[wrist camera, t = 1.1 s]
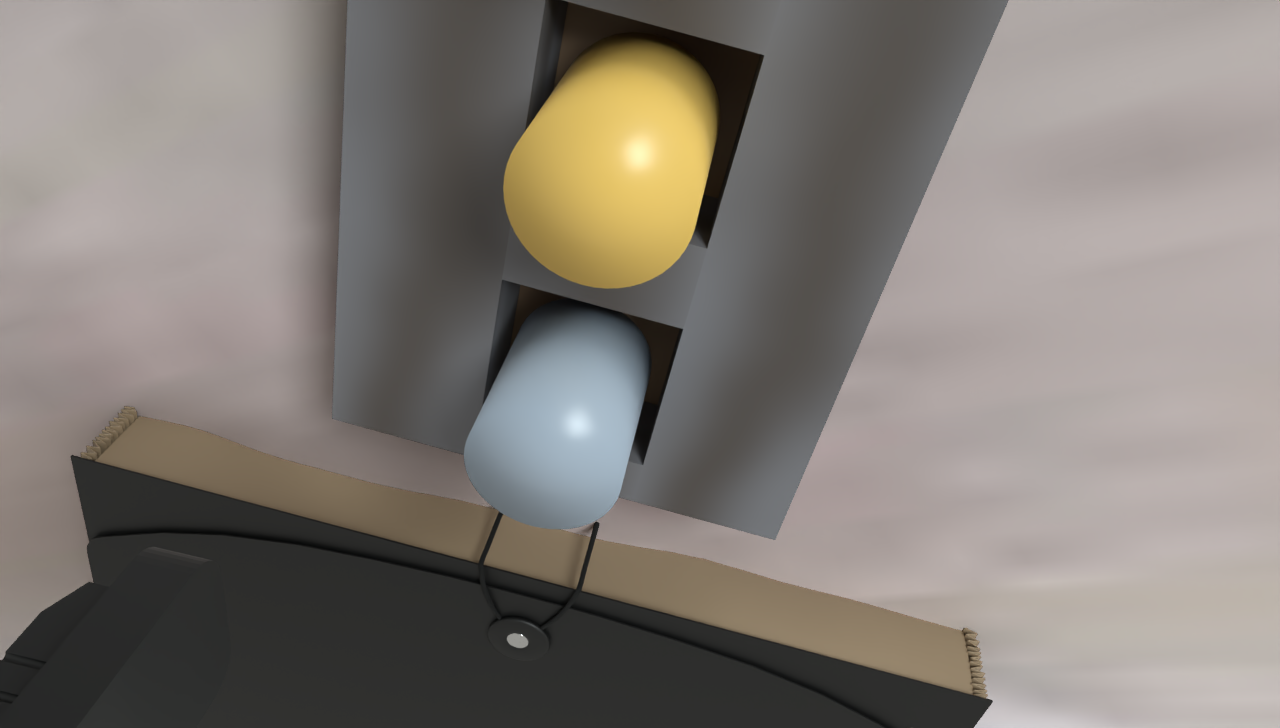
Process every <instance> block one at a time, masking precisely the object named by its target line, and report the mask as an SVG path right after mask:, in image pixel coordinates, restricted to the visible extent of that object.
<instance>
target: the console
mask: <svg viewBox="0 0 1280 728" xmlns="http://www.w3.org/2000/svg"><path fill="white" fill-rule="evenodd" d="M1007 3H1008V0H347V27H346V54H345V81H344V108H343V135H342V162H341V189H340V217H339V244H338V271H337V298H336V325H335V352H334V379H333V406H332V419H335V420H338V421H342V422H346V423H349V424H353V425H357V426H360V427H364V428H368V429H371V430H375V431H379V432H382V433H386V434H390V435H393V436H397V437H401V438H404V439H408V440H411V441H415V442H419V443H422V444H426V445H430V446H433V447H437V448H441V449H444V450H448V451H452V452H455V453H459V454H463V455H464V448H465V444H466V440H467V438H468V436H469V433H470V431H471V429H472V427H473V425H474V423H475V421H476V419H477V417H478V415H479V413H480V411H481V409H482V407H483V404H484V402H485V400H486V398H487V396H488V394H489V392H490V390H491V388H492V386H493V384H494V382H495V380H496V378H497V375H498V373H499V371H500V369H501V367H502V365H503V363H504V361H505V359H506V357H507V355H508V353H509V351H510V349H511V346H512V344H513V342H514V340H515V338H516V336H517V334H518V332H519V330H520V328H521V326H522V324H523V323H524V321H525V320H526V318H527V317H528V316H529V315H530V314H531V313H532V312H533V311H535V310H536V309H537V308H539V307H541V306H542V305H544V304H547V303H549V302H551V301H555V300H559V299H565V298H571V299H575V300H579V301H582V302H586V303H590V304H593V305H597V306H601V307H604V308H608V309H611V310H615V311H619V312H622V313H623V314H625V315H626V316H627V317H628V318H630V319H631V320H632V321H633V322H634V323H635V324H636V325H637V327H638V328H639V329H640V330H641V332H642V334H643V335H644V337H645V338H646V341H647V343H648V345H649V348H650V352H651V358H652V369H651V374H650V379H649V382H648V386H647V390H646V394H645V398H644V402H643V406H642V410H641V413H640V417H639V421H638V425H637V429H636V433H635V437H634V441H633V444H632V448H631V452H630V456H629V460H628V464H627V468H626V472H625V475H624V479H623V483H622V487H621V491H620V494H619V496H618V497H620V498H623V499H627V500H631V501H634V502H638V503H642V504H645V505H649V506H653V507H656V508H660V509H664V510H667V511H671V512H674V513H678V514H682V515H685V516H689V517H693V518H696V519H700V520H704V521H707V522H711V523H715V524H718V525H722V526H726V527H729V528H733V529H737V530H740V531H744V532H748V533H751V534H755V535H758V536H762V537H766V538H769V539H773V540H775V539H776V536H777V534H778V532H779V529H780V527H781V525H782V523H783V520H784V518H785V516H786V513H787V511H788V509H789V506H790V504H791V502H792V499H793V497H794V495H795V493H796V490H797V488H798V486H799V483H800V481H801V479H802V476H803V474H804V472H805V469H806V467H807V465H808V462H809V460H810V458H811V456H812V453H813V451H814V449H815V446H816V444H817V442H818V439H819V437H820V435H821V432H822V430H823V428H824V425H825V423H826V421H827V419H828V416H829V414H830V412H831V409H832V407H833V405H834V402H835V400H836V398H837V395H838V393H839V391H840V389H841V386H842V384H843V382H844V379H845V377H846V375H847V372H848V370H849V368H850V365H851V363H852V361H853V358H854V356H855V354H856V352H857V349H858V347H859V345H860V342H861V340H862V338H863V335H864V333H865V331H866V328H867V326H868V324H869V321H870V319H871V317H872V315H873V312H874V310H875V308H876V305H877V303H878V301H879V298H880V296H881V294H882V291H883V289H884V287H885V285H886V282H887V280H888V278H889V275H890V273H891V271H892V268H893V266H894V264H895V261H896V259H897V257H898V254H899V252H900V250H901V248H902V245H903V243H904V241H905V238H906V236H907V234H908V231H909V229H910V227H911V224H912V222H913V220H914V217H915V215H916V213H917V211H918V208H919V206H920V204H921V201H922V199H923V197H924V194H925V192H926V190H927V187H928V185H929V183H930V180H931V178H932V176H933V174H934V171H935V169H936V167H937V164H938V162H939V160H940V157H941V155H942V153H943V150H944V148H945V146H946V144H947V141H948V139H949V137H950V134H951V132H952V130H953V127H954V125H955V123H956V120H957V118H958V116H959V113H960V111H961V109H962V107H963V104H964V102H965V100H966V97H967V95H968V93H969V90H970V88H971V86H972V83H973V81H974V79H975V76H976V74H977V72H978V70H979V67H980V65H981V63H982V60H983V58H984V56H985V53H986V51H987V49H988V46H989V44H990V42H991V40H992V37H993V35H994V33H995V30H996V28H997V26H998V23H999V21H1000V19H1001V16H1002V14H1003V12H1004V9H1005V7H1006V5H1007ZM626 32H643V33H650V34H655V35H658V36H661V37H664V38H667V39H669V40H671V41H673V42H675V43H677V44H679V45H680V46H682V47H683V48H685V49H686V50H688V51H689V52H690V53H691V54H692V55H693V56H694V57H695V58H696V59H697V60H698V61H699V62H700V63H701V64H702V65H703V67H704V68H705V70H706V71H707V73H708V74H709V76H710V78H711V80H712V82H713V84H714V87H715V90H716V92H717V95H718V100H719V105H720V127H719V132H718V137H717V141H716V145H715V149H714V153H713V157H712V161H711V165H710V169H709V173H708V177H707V181H706V186H705V190H704V194H703V198H702V202H701V206H700V210H699V214H698V218H697V222H696V226H695V230H694V233H693V235H692V238H691V240H690V242H689V244H688V246H687V248H686V250H685V251H684V252H683V254H682V255H681V256H680V258H679V259H678V260H677V261H676V262H675V263H674V264H673V265H672V266H671V267H670V268H668V269H667V270H666V271H665V272H663V273H662V274H660V275H658V276H657V277H655V278H653V279H651V280H649V281H646V282H644V283H641V284H638V285H634V286H630V287H624V288H609V289H605V288H595V287H590V286H585V285H581V284H578V283H575V282H572V281H569V280H567V279H565V278H563V277H561V276H559V275H557V274H555V273H554V272H552V271H550V270H549V269H547V268H546V267H545V266H543V265H542V264H541V263H540V262H538V261H537V260H536V259H535V258H534V257H533V256H532V255H531V254H530V253H529V252H528V250H527V249H526V248H525V247H524V246H523V244H522V243H521V241H520V240H519V238H518V237H517V235H516V234H515V232H514V230H513V228H512V226H511V223H510V221H509V218H508V215H507V212H506V207H505V202H504V192H503V185H504V175H505V170H506V166H507V163H508V160H509V158H510V155H511V153H512V151H513V149H514V148H515V146H516V144H517V142H518V141H519V140H520V138H521V137H522V135H523V134H524V132H525V131H526V129H527V128H528V127H529V125H530V124H531V122H532V121H533V119H534V118H535V116H536V115H537V113H538V112H539V111H540V109H541V108H542V106H543V105H544V103H545V102H546V100H547V99H548V98H549V96H550V95H551V93H552V92H553V90H554V89H555V87H556V86H557V84H558V83H559V82H560V80H561V79H562V77H563V76H564V74H565V73H566V71H567V70H568V69H569V67H570V66H571V64H572V63H573V62H574V60H575V59H576V58H577V57H578V56H579V55H580V54H581V53H582V52H583V51H584V50H585V49H586V48H588V47H589V46H590V45H592V44H593V43H595V42H597V41H599V40H601V39H603V38H606V37H608V36H611V35H615V34H620V33H626Z"/></svg>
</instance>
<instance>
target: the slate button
mask: <svg viewBox="0 0 1280 728" xmlns="http://www.w3.org/2000/svg"><path fill="white" fill-rule="evenodd" d="M651 369H652V358H651V352H650V348H649V345H648V343H647V341H646V338H645V337H644V335H643V334H642V332H641V330H640V329H639V328H638V327H637V325H636V324H635V323H634V322H633V321H632V320H631V319H630V318H628V317H627V316H626V315H625V314H623V313H622V312H619V311H615V310H611V309H608V308H604V307H601V306H597V305H593V304H590V303H586V302H582V301H579V300H575V299H571V298H565V299H559V300H555V301H551V302H549V303H547V304H544V305H542V306H541V307H539V308H537V309H536V310H535V311H533V312H532V313H531V314H530V315H529V316H528V317H527V318H526V320H525V321H524V323H523V324H522V326H521V328H520V330H519V332H518V334H517V336H516V338H515V340H514V342H513V344H512V346H511V349H510V351H509V353H508V355H507V357H506V359H505V361H504V363H503V365H502V367H501V369H500V371H499V373H498V375H497V378H496V380H495V382H494V384H493V386H492V388H491V390H490V392H489V394H488V396H487V398H486V400H485V402H484V404H483V407H482V409H481V411H480V413H479V415H478V417H477V419H476V421H475V423H474V425H473V427H472V429H471V431H470V433H469V436H468V438H467V440H466V444H465V448H464V462H465V467H466V471H467V474H468V476H469V478H470V481H471V482H472V484H473V486H474V487H475V489H476V490H477V491H478V493H479V494H480V495H481V496H482V497H483V498H484V499H485V500H486V501H487V502H488V503H489V504H490V505H491V506H493V507H494V508H495V509H496V510H498V511H499V512H501V513H502V514H504V515H506V516H508V517H510V518H512V519H514V520H516V521H519V522H521V523H524V524H527V525H530V526H534V527H539V528H546V529H571V528H576V527H580V526H584V525H587V524H589V523H592V522H594V521H596V520H597V519H599V518H601V517H602V516H603V515H605V514H606V513H607V512H608V511H609V510H610V509H611V508H612V507H613V505H614V504H615V502H616V500H617V499H618V496H619V494H620V491H621V487H622V483H623V479H624V475H625V472H626V468H627V464H628V460H629V456H630V452H631V448H632V444H633V441H634V437H635V433H636V429H637V425H638V421H639V417H640V413H641V410H642V406H643V402H644V398H645V394H646V390H647V386H648V382H649V379H650V374H651Z"/></svg>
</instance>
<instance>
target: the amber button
mask: <svg viewBox="0 0 1280 728" xmlns="http://www.w3.org/2000/svg"><path fill="white" fill-rule="evenodd" d="M719 127H720V105H719V100H718V95H717V92H716V90H715V87H714V84H713V82H712V80H711V78H710V76H709V74H708V73H707V71H706V70H705V68H704V67H703V65H702V64H701V63H700V62H699V61H698V60H697V59H696V58H695V57H694V56H693V55H692V54H691V53H690V52H689V51H688V50H686V49H685V48H683V47H682V46H680V45H679V44H677V43H675V42H673V41H671V40H669V39H667V38H664V37H661V36H658V35H655V34H650V33H643V32H626V33H620V34H615V35H611V36H608V37H606V38H603V39H601V40H599V41H597V42H595V43H593V44H592V45H590V46H589V47H588V48H586V49H585V50H584V51H583V52H582V53H581V54H580V55H579V56H578V57H577V58H576V59H575V60H574V62H573V63H572V64H571V66H570V67H569V69H568V70H567V71H566V73H565V74H564V76H563V77H562V79H561V80H560V82H559V83H558V84H557V86H556V87H555V89H554V90H553V92H552V93H551V95H550V96H549V98H548V99H547V100H546V102H545V103H544V105H543V106H542V108H541V109H540V111H539V112H538V113H537V115H536V116H535V118H534V119H533V121H532V122H531V124H530V125H529V127H528V128H527V129H526V131H525V132H524V134H523V135H522V137H521V138H520V140H519V141H518V142H517V144H516V146H515V148H514V149H513V151H512V153H511V155H510V158H509V160H508V163H507V166H506V170H505V175H504V185H503V192H504V202H505V207H506V212H507V215H508V218H509V221H510V223H511V226H512V228H513V230H514V232H515V234H516V235H517V237H518V238H519V240H520V241H521V243H522V244H523V246H524V247H525V248H526V249H527V250H528V252H529V253H530V254H531V255H532V256H533V257H534V258H535V259H536V260H537V261H538V262H540V263H541V264H542V265H543V266H545V267H546V268H547V269H549V270H550V271H552V272H554V273H555V274H557V275H559V276H561V277H563V278H565V279H567V280H569V281H572V282H575V283H578V284H581V285H585V286H590V287H595V288H605V289H609V288H624V287H630V286H634V285H638V284H641V283H644V282H646V281H649V280H651V279H653V278H655V277H657V276H658V275H660V274H662V273H663V272H665V271H666V270H667V269H668V268H670V267H671V266H672V265H673V264H674V263H675V262H676V261H677V260H678V259H679V258H680V256H681V255H682V254H683V252H684V251H685V250H686V248H687V246H688V244H689V242H690V240H691V238H692V235H693V233H694V230H695V226H696V222H697V218H698V214H699V210H700V206H701V202H702V198H703V194H704V190H705V186H706V181H707V177H708V173H709V169H710V165H711V161H712V157H713V153H714V149H715V145H716V141H717V137H718V132H719Z"/></svg>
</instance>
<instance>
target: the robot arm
mask: <svg viewBox="0 0 1280 728" xmlns="http://www.w3.org/2000/svg"><path fill="white" fill-rule="evenodd" d="M230 654H231V640H230V633H229V626H228V619H227V611H226V604H225V597H224V590H223V583H222V576H221V570H220V567H219V565H218V564H217V563H216V562H215V561H212V560H208V559H204V558H200V557H195V556H191V555H187V554H183V553H178V552H174V551H170V550H166V549H161V548H157V547H149V548H146V549H145V550H143V551H141V552H140V553H139V554H138V555H137V556H136V557H135V558H134V559H133V560H132V561H131V562H130V564H129V565H128V566H127V567H126V568H125V569H124V571H123V572H122V573H121V574H120V575H119V577H118V578H117V579H116V580H115V581H114V583H113V584H112V585H111V586H110V587H108V586H104V585H100V584H96V583H91V582H88V583H87V584H85V585H83V586H82V587H80V588H79V589H77V590H75V591H74V592H72V593H71V594H69V595H67V596H66V597H64V598H63V599H61V600H60V601H58V602H56V603H55V604H53V605H52V606H50V607H48V608H47V609H45V610H44V611H42V612H41V613H40V614H39V615H38V616H37V617H36V618H35V619H34V621H33V622H32V623H31V624H30V625H29V626H28V627H27V628H26V630H25V631H24V632H23V633H22V634H21V635H20V636H19V637H18V638H17V640H16V641H15V642H14V643H13V644H12V645H11V646H10V647H9V649H8V650H7V651H6V654H5V657H4V659H3V660H0V728H196V727H197V726H198V724H199V722H200V721H201V719H202V718H203V716H204V715H205V713H206V711H207V710H208V708H209V707H210V705H211V704H212V702H213V700H214V699H215V697H216V695H217V693H218V691H219V689H220V687H221V685H222V683H223V680H224V678H225V675H226V672H227V668H228V665H229V660H230ZM907 728H912V727H907Z"/></svg>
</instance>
